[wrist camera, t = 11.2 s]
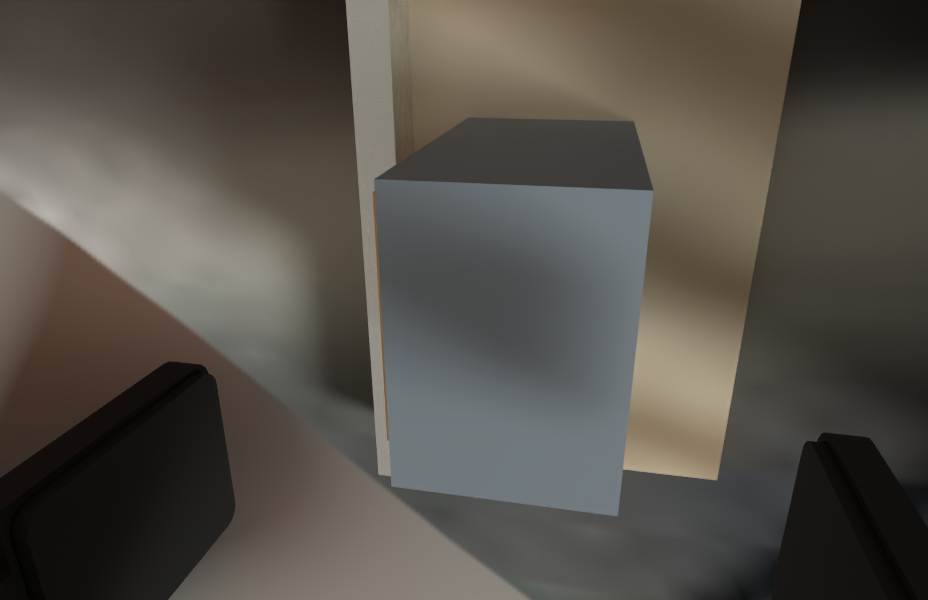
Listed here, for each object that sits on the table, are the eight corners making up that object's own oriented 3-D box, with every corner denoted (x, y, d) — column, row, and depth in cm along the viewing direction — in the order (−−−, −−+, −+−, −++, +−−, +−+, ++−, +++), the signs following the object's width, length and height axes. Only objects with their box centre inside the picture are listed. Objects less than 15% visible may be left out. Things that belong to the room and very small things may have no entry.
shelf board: (711, 455, 25) (726, 518, 21) (405, 421, 27) (378, 474, 24) (790, -14, 18) (827, -22, 15) (385, -7, 21) (344, -13, 18)
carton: (634, 121, 19) (653, 190, 11) (613, 334, 22) (618, 516, 14) (455, 117, 20) (353, 178, 12) (457, 321, 23) (374, 484, 15)
